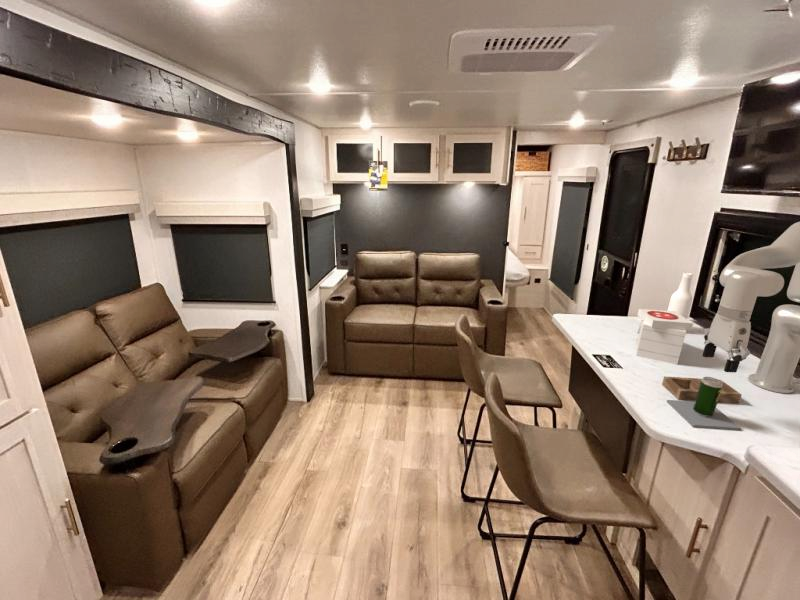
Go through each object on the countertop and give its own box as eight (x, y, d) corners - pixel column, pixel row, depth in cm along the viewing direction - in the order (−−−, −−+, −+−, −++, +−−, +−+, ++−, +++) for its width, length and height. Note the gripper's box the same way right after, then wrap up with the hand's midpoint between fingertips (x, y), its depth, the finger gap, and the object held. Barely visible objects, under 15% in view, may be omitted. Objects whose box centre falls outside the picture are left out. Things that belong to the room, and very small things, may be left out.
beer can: (693, 414, 122) (703, 381, 118) (691, 406, 127) (700, 374, 123) (714, 419, 120) (725, 386, 116) (711, 411, 124) (721, 379, 120)
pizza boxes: (677, 342, 179) (687, 307, 173) (683, 368, 155) (694, 327, 149) (631, 333, 189) (639, 299, 183) (629, 356, 164) (638, 317, 159)
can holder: (718, 388, 140) (720, 379, 139) (738, 403, 130) (741, 394, 129) (661, 384, 141) (664, 376, 140) (678, 399, 132) (680, 390, 131)
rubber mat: (709, 404, 129) (709, 402, 129) (740, 430, 116) (741, 428, 116) (666, 401, 130) (667, 399, 130) (693, 427, 117) (693, 424, 117)
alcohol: (658, 327, 198) (672, 271, 189) (673, 326, 199) (687, 271, 190) (673, 333, 190) (688, 276, 180) (687, 332, 191) (704, 275, 182)
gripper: (772, 324, 104) (753, 378, 109) (726, 303, 120) (711, 352, 126) (743, 323, 104) (725, 377, 110) (701, 303, 121) (688, 351, 126)
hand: (718, 364), depth 118 cm, fingers open, 9 cm apart
